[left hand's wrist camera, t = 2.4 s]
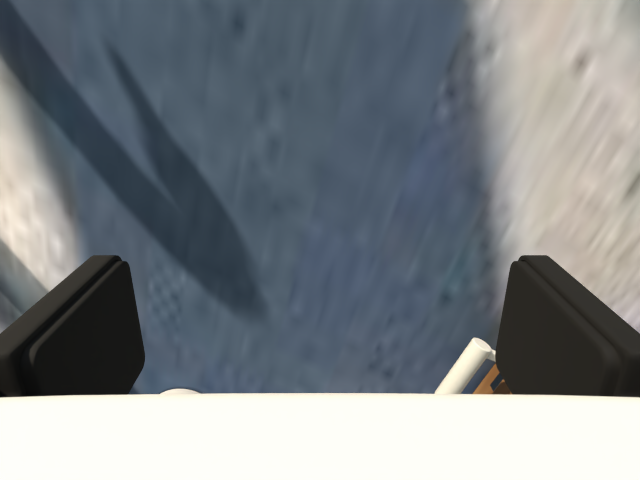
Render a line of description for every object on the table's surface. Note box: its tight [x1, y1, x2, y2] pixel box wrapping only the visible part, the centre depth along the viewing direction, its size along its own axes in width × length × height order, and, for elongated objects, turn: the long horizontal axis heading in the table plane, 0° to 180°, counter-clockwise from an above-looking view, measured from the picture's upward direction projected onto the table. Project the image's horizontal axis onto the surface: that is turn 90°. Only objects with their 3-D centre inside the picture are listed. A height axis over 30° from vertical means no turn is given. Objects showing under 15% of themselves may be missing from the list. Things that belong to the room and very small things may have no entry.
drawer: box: [435, 338, 512, 395], centre depth 36 cm, size 21×10×7 cm, turn 65°
